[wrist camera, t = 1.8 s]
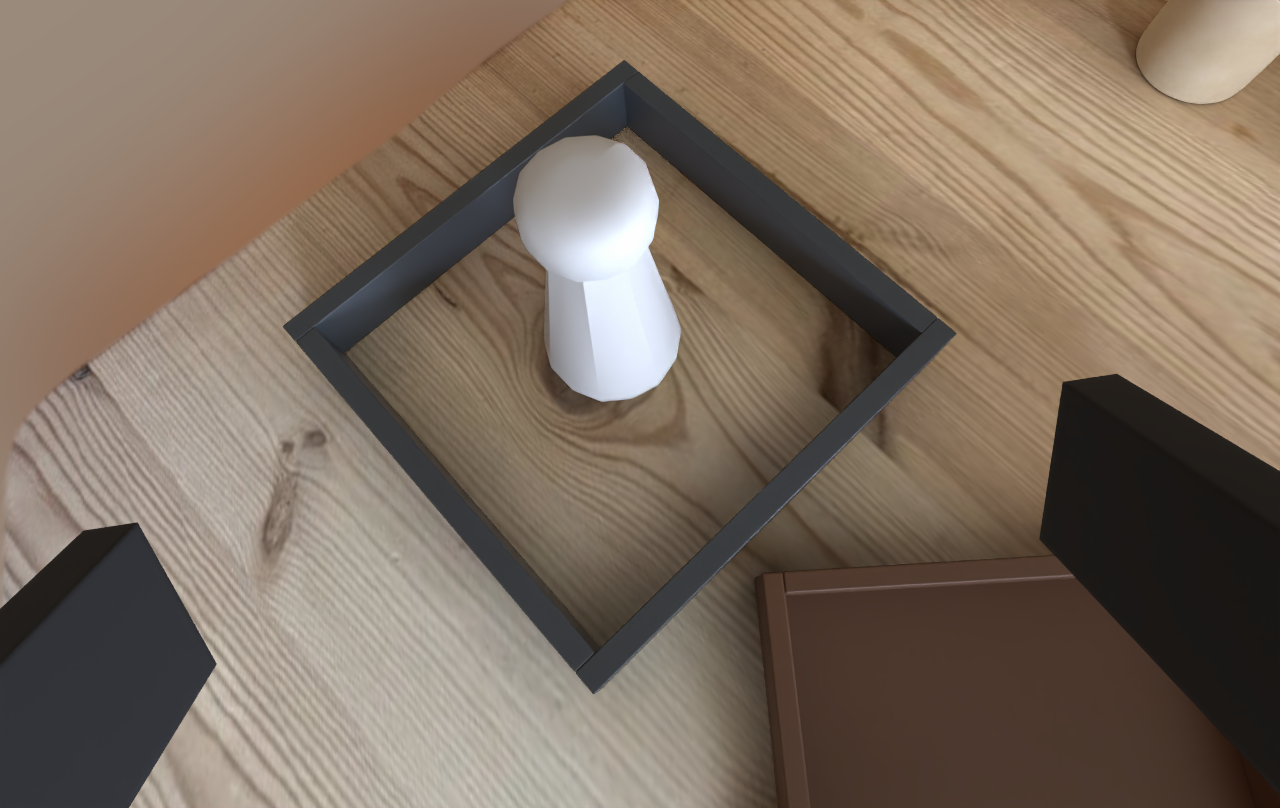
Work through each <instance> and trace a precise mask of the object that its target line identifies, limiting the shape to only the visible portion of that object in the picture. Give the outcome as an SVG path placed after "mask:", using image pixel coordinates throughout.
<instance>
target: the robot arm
mask: <svg viewBox="0 0 1280 808" xmlns="http://www.w3.org/2000/svg"><path fill="white" fill-rule="evenodd" d="M1040 540H1041V541H1042V542H1043V543H1044V545H1045V546H1046V547H1047V548H1048V549H1049V550H1050V551H1051V552H1052V553H1053V554H1054V555H1055V556H1056V557H1057V558H1058V559H1059V561H1060V562H1061V563H1062V564H1063V565H1064V566H1065V567H1066V568H1067V569H1068V570H1069V571H1070V572H1071V573H1072V574H1073V575H1074V577H1075V578H1076V579H1077V580H1078V581H1079V582H1080V583H1081V584H1082V585H1083V586H1084V587H1085V588H1086V589H1087V590H1088V591H1089V592H1090V594H1091V595H1092V596H1093V597H1094V598H1095V599H1096V600H1097V601H1098V602H1099V603H1100V604H1101V605H1102V606H1103V607H1104V608H1105V610H1106V611H1107V612H1108V613H1109V614H1110V615H1111V616H1112V617H1113V618H1114V619H1115V620H1116V621H1117V622H1118V623H1119V624H1120V626H1121V627H1122V628H1123V629H1124V630H1125V631H1126V632H1127V633H1128V634H1129V635H1130V636H1131V637H1132V638H1133V639H1134V640H1135V641H1136V643H1137V644H1138V645H1139V646H1140V647H1141V648H1142V649H1143V650H1144V651H1145V652H1146V653H1147V654H1148V655H1149V656H1150V657H1151V659H1152V660H1153V661H1154V662H1155V663H1156V664H1157V665H1158V666H1159V667H1160V668H1161V669H1162V670H1163V671H1164V672H1165V673H1166V675H1167V676H1168V677H1169V678H1170V679H1171V680H1172V681H1173V682H1174V683H1175V684H1176V685H1177V686H1178V687H1179V688H1180V689H1181V691H1182V692H1183V693H1184V694H1185V695H1186V696H1187V697H1188V698H1189V699H1190V700H1191V701H1192V702H1193V703H1194V704H1195V705H1196V706H1197V708H1198V709H1199V710H1200V711H1201V712H1202V713H1203V714H1204V715H1205V716H1206V717H1207V718H1208V719H1209V720H1210V721H1211V722H1212V724H1213V725H1214V726H1215V727H1216V728H1217V729H1218V730H1219V731H1220V732H1221V733H1222V734H1223V735H1224V736H1225V737H1226V738H1227V740H1228V741H1229V742H1230V743H1231V744H1232V745H1233V746H1234V747H1235V748H1236V749H1237V750H1238V751H1239V752H1240V753H1241V754H1242V756H1243V757H1244V758H1245V759H1246V760H1247V761H1248V762H1249V763H1250V764H1251V765H1252V766H1253V767H1254V768H1255V769H1256V770H1257V771H1258V773H1259V774H1260V775H1261V776H1262V777H1263V778H1264V779H1265V780H1266V781H1267V782H1268V783H1269V784H1270V785H1271V786H1272V787H1273V789H1274V790H1275V791H1276V792H1277V793H1278V794H1279V795H1280V471H1279V470H1277V469H1275V468H1274V467H1272V466H1270V465H1269V464H1267V463H1265V462H1264V461H1262V460H1260V459H1259V458H1257V457H1255V456H1254V455H1252V454H1250V453H1249V452H1247V451H1245V450H1243V449H1242V448H1240V447H1238V446H1237V445H1235V444H1233V443H1232V442H1230V441H1228V440H1227V439H1225V438H1223V437H1222V436H1220V435H1218V434H1217V433H1215V432H1213V431H1212V430H1210V429H1208V428H1207V427H1205V426H1203V425H1202V424H1200V423H1198V422H1197V421H1195V420H1193V419H1192V418H1190V417H1188V416H1187V415H1185V414H1183V413H1182V412H1180V411H1178V410H1177V409H1175V408H1173V407H1172V406H1170V405H1168V404H1166V403H1165V402H1163V401H1161V400H1160V399H1158V398H1156V397H1155V396H1153V395H1151V394H1150V393H1148V392H1146V391H1145V390H1143V389H1141V388H1140V387H1138V386H1136V385H1135V384H1133V383H1131V382H1130V381H1128V380H1126V379H1125V378H1123V377H1121V376H1120V375H1118V374H1112V375H1106V376H1099V377H1093V378H1086V379H1080V380H1073V381H1066V382H1063V384H1062V391H1061V398H1060V405H1059V411H1058V418H1057V425H1056V431H1055V438H1054V445H1053V451H1052V458H1051V465H1050V472H1049V478H1048V485H1047V492H1046V498H1045V505H1044V512H1043V519H1042V525H1041V532H1040ZM215 666H216V662H215V660H214V658H213V656H212V655H211V653H210V651H209V649H208V648H207V646H206V644H205V642H204V640H203V639H202V637H201V635H200V633H199V631H198V630H197V628H196V626H195V624H194V623H193V621H192V619H191V617H190V615H189V614H188V612H187V610H186V608H185V606H184V605H183V603H182V601H181V599H180V597H179V596H178V594H177V592H176V590H175V589H174V587H173V585H172V583H171V581H170V580H169V578H168V576H167V574H166V572H165V571H164V569H163V567H162V565H161V564H160V562H159V560H158V558H157V556H156V555H155V553H154V551H153V549H152V547H151V546H150V544H149V542H148V540H147V539H146V537H145V535H144V533H143V531H142V530H141V528H140V526H139V524H138V522H137V523H131V524H124V525H118V526H111V527H104V528H98V529H91V530H85V531H83V532H82V533H81V534H79V535H78V536H77V537H76V538H75V539H74V540H73V541H72V542H71V543H70V544H69V545H68V546H67V547H66V548H65V549H63V550H62V551H61V552H60V553H59V554H58V555H57V556H56V557H55V558H54V559H53V560H52V561H51V562H50V563H49V564H47V565H46V566H45V567H44V568H43V569H42V570H41V571H40V572H39V573H38V574H37V575H36V576H35V577H34V578H33V579H32V580H30V581H29V582H28V583H27V584H26V585H25V586H24V587H23V588H22V589H21V590H20V591H19V592H18V593H17V594H16V595H14V596H13V597H12V598H11V599H10V600H9V601H8V602H7V603H6V604H5V605H4V606H3V607H2V608H1V609H0V808H129V807H130V805H131V803H132V802H133V800H134V799H135V797H136V795H137V794H138V792H139V790H140V789H141V787H142V785H143V784H144V782H145V781H146V779H147V777H148V776H149V774H150V772H151V771H152V769H153V767H154V766H155V764H156V763H157V761H158V759H159V758H160V756H161V754H162V753H163V751H164V749H165V748H166V746H167V745H168V743H169V741H170V740H171V738H172V736H173V735H174V733H175V731H176V730H177V728H178V727H179V725H180V723H181V722H182V720H183V718H184V717H185V715H186V713H187V712H188V710H189V709H190V707H191V705H192V704H193V702H194V700H195V699H196V697H197V695H198V694H199V692H200V691H201V689H202V687H203V686H204V684H205V682H206V681H207V679H208V677H209V676H210V674H211V673H212V671H213V669H214V668H215Z"/></svg>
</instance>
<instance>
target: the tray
mask: <svg viewBox="0 0 1280 808" xmlns="http://www.w3.org/2000/svg"><path fill="white" fill-rule="evenodd" d="M754 580H755V589H756V599H757V608H758V618H759V628H760V637H761V647H762V656H763V666H764V676H765V685H766V695H767V704H768V714H769V724H770V733H771V743H772V752H773V762H774V772H775V781H776V791H777V800H778V808H1280V795H1279V794H1278V793H1277V792H1276V791H1275V790H1274V789H1273V787H1272V786H1271V785H1270V784H1269V783H1268V782H1267V781H1266V780H1265V779H1264V778H1263V777H1262V776H1261V775H1260V774H1259V773H1258V771H1257V770H1256V769H1255V768H1254V767H1253V766H1252V765H1251V764H1250V763H1249V762H1248V761H1247V760H1246V759H1245V758H1244V757H1243V756H1242V754H1241V753H1240V752H1239V751H1238V750H1237V749H1236V748H1235V747H1234V746H1233V745H1232V744H1231V743H1230V742H1229V741H1228V740H1227V738H1226V737H1225V736H1224V735H1223V734H1222V733H1221V732H1220V731H1219V730H1218V729H1217V728H1216V727H1215V726H1214V725H1213V724H1212V722H1211V721H1210V720H1209V719H1208V718H1207V717H1206V716H1205V715H1204V714H1203V713H1202V712H1201V711H1200V710H1199V709H1198V708H1197V706H1196V705H1195V704H1194V703H1193V702H1192V701H1191V700H1190V699H1189V698H1188V697H1187V696H1186V695H1185V694H1184V693H1183V692H1182V691H1181V689H1180V688H1179V687H1178V686H1177V685H1176V684H1175V683H1174V682H1173V681H1172V680H1171V679H1170V678H1169V677H1168V676H1167V675H1166V673H1165V672H1164V671H1163V670H1162V669H1161V668H1160V667H1159V666H1158V665H1157V664H1156V663H1155V662H1154V661H1153V660H1152V659H1151V657H1150V656H1149V655H1148V654H1147V653H1146V652H1145V651H1144V650H1143V649H1142V648H1141V647H1140V646H1139V645H1138V644H1137V643H1136V641H1135V640H1134V639H1133V638H1132V637H1131V636H1130V635H1129V634H1128V633H1127V632H1126V631H1125V630H1124V629H1123V628H1122V627H1121V626H1120V624H1119V623H1118V622H1117V621H1116V620H1115V619H1114V618H1113V617H1112V616H1111V615H1110V614H1109V613H1108V612H1107V611H1106V610H1105V608H1104V607H1103V606H1102V605H1101V604H1100V603H1099V602H1098V601H1097V600H1096V599H1095V598H1094V597H1093V596H1092V595H1091V594H1090V592H1089V591H1088V590H1087V589H1086V588H1085V587H1084V586H1083V585H1082V584H1081V583H1080V582H1079V581H1078V580H1077V579H1076V578H1075V577H1074V575H1073V574H1072V573H1071V572H1070V571H1069V570H1068V569H1067V568H1066V567H1065V566H1064V565H1063V564H1062V563H1061V562H1060V561H1059V559H1058V558H1057V557H1056V556H1055V555H1047V556H1030V557H1014V558H998V559H981V560H965V561H948V562H932V563H915V564H899V565H882V566H866V567H850V568H833V569H817V570H800V571H785V572H783V573H782V572H768V573H763V574H761V575H760V576H758V577H756V578H755V579H754Z"/></svg>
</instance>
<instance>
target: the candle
mask: <svg viewBox="0 0 1280 808" xmlns="http://www.w3.org/2000/svg"><path fill="white" fill-rule="evenodd" d="M1279 54H1280V0H1168V1H1167V2H1166V4H1165V5H1164V6H1163V8H1162V9H1161V10H1160V11H1159V13H1158V14H1157V15H1156V17H1155V18H1154V19H1153V20H1152V22H1151V23H1150V24H1149V26H1148V27H1147V28H1146V30H1145V31H1144V33H1143V35H1142V36H1141V38H1140V40H1139V42H1138V45H1137V49H1136V58H1137V63H1138V66H1139V68H1140V70H1141V72H1142V74H1143V75H1144V77H1145V78H1146V79H1147V80H1148V81H1149V82H1150V83H1151V84H1152V85H1153V86H1154V87H1155V88H1156V89H1158V90H1159V91H1161V92H1162V93H1164V94H1166V95H1168V96H1170V97H1172V98H1175V99H1178V100H1181V101H1184V102H1189V103H1197V104H1208V103H1215V102H1220V101H1223V100H1226V99H1228V98H1230V97H1232V96H1233V95H1235V94H1236V93H1237V92H1239V91H1240V90H1242V89H1243V88H1244V87H1245V86H1246V85H1247V84H1248V83H1249V82H1250V81H1251V80H1253V79H1254V78H1255V77H1256V76H1257V75H1258V74H1259V73H1260V72H1261V71H1262V70H1263V69H1264V68H1265V67H1266V66H1267V65H1268V64H1269V63H1271V62H1272V61H1273V60H1274V59H1275V58H1276V57H1277V56H1278V55H1279Z"/></svg>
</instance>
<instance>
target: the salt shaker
mask: <svg viewBox="0 0 1280 808" xmlns="http://www.w3.org/2000/svg"><path fill="white" fill-rule="evenodd" d="M513 205H514V214H515V218H516V222H517V226H518V229H519V233H520V237H521V240H522V242H523V244H524V246H525V248H526V250H527V251H528V252H529V253H530V254H531V255H532V256H533V257H534V258H535V259H536V260H537V261H538V262H539V263H540V264H541V265H542V266H543V267H544V268H545V269H546V282H545V317H544V342H545V346H546V350H547V354H548V358H549V362H550V366H551V368H552V369H553V370H554V371H555V372H556V373H557V374H558V375H559V376H560V377H561V378H562V379H563V380H564V381H565V382H566V383H567V384H568V386H569V387H570V388H571V389H573V390H574V391H576V392H578V393H581V394H583V395H586V396H588V397H591V398H593V399H596V400H598V401H601V402H606V401H616V400H626V399H633V398H634V397H636V396H638V395H640V394H642V393H644V392H646V391H648V390H650V389H652V388H654V387H656V386H658V385H659V383H660V382H661V380H662V379H663V378H664V376H665V375H666V373H667V372H668V370H669V369H670V367H671V366H672V365H673V363H674V362H675V360H676V358H677V352H678V346H679V341H680V335H681V327H680V324H679V321H678V319H677V316H676V313H675V310H674V308H673V305H672V302H671V300H670V298H669V296H668V293H667V291H666V289H665V287H664V285H663V283H662V280H661V278H660V275H659V273H658V270H657V268H656V265H655V263H654V260H653V258H652V255H651V253H650V250H649V248H648V246H649V245H650V243H651V242H652V240H653V237H654V232H655V226H656V221H657V216H658V207H659V199H658V196H657V193H656V191H655V188H654V185H653V182H652V180H651V177H650V174H649V171H648V169H647V166H646V163H645V162H644V161H643V160H642V159H641V158H640V157H639V156H637V155H636V154H635V153H634V152H633V151H632V150H631V149H630V148H629V147H628V146H627V145H626V144H624V143H621V142H617V141H614V140H611V139H607V138H604V137H601V136H597V135H592V136H578V137H566V138H564V139H562V140H560V141H558V142H556V143H554V144H552V145H550V146H548V147H546V148H544V149H542V150H540V151H538V152H537V153H536V155H535V156H534V157H533V158H532V159H531V160H530V161H529V163H528V164H527V165H526V166H525V167H524V168H523V169H522V170H521V172H520V173H519V177H518V181H517V185H516V189H515V194H514V198H513Z"/></svg>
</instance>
